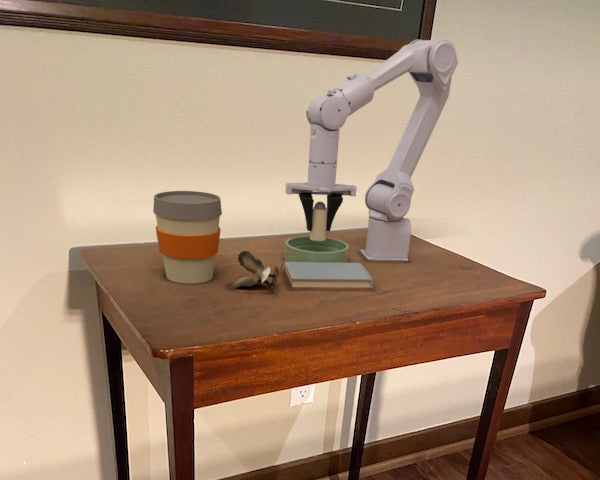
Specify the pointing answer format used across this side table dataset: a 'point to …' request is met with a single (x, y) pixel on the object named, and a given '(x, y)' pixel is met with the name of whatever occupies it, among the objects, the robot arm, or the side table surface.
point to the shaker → (319, 222)
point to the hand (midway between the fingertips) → (318, 230)
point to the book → (328, 274)
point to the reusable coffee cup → (188, 234)
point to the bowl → (315, 250)
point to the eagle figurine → (255, 271)
